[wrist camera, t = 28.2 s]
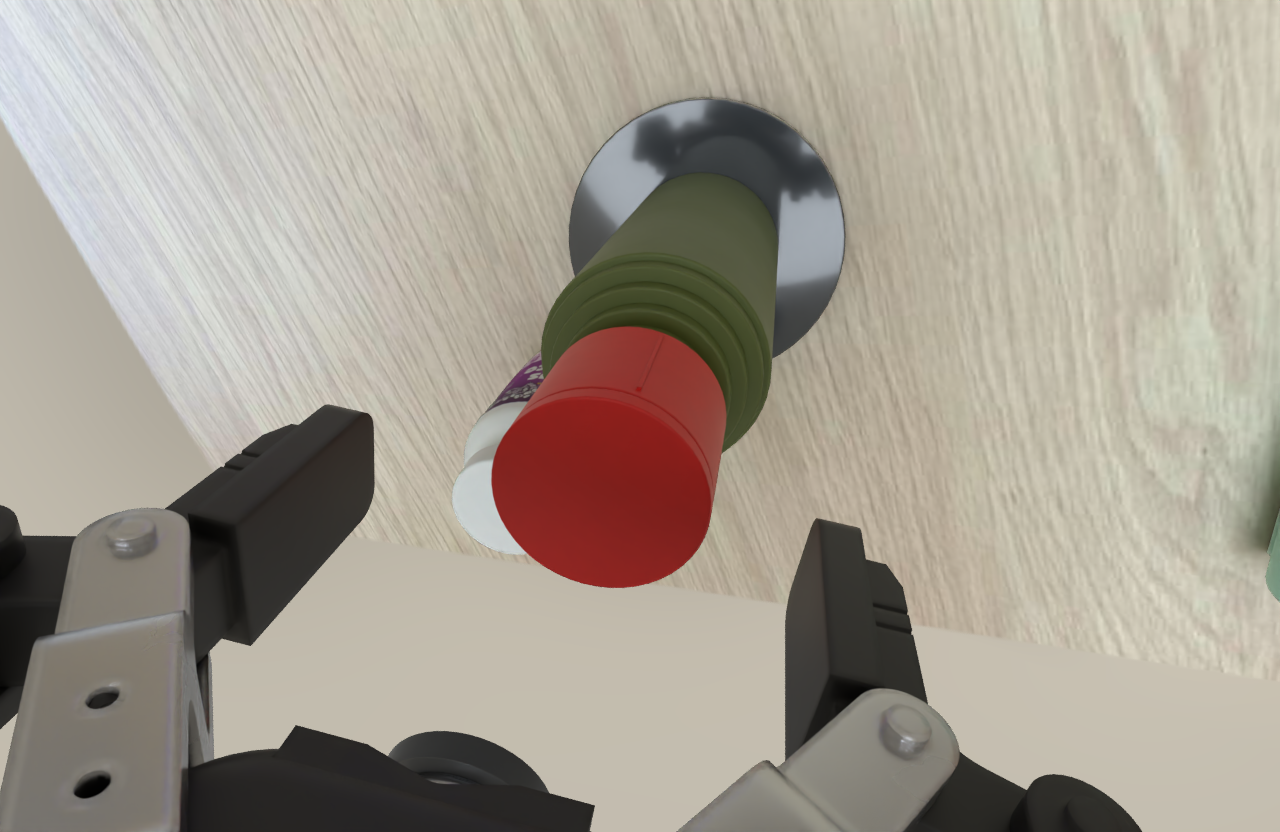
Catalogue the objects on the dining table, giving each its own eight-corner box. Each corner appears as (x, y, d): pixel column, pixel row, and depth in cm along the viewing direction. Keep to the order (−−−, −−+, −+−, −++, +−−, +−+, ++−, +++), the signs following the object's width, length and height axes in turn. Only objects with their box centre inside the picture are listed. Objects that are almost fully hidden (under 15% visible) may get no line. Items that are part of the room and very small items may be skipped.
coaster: (829, 377, 32) (829, 383, 31) (578, 362, 33) (575, 367, 33) (860, 97, 27) (862, 98, 26) (564, 97, 28) (560, 98, 28)
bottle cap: (573, 295, 16) (517, 359, 13) (756, 363, 16) (747, 445, 13) (527, 453, 18) (471, 543, 15) (690, 514, 18) (668, 617, 15)
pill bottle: (632, 341, 32) (576, 448, 24) (635, 447, 35) (586, 578, 26) (514, 336, 33) (420, 437, 25) (526, 440, 36) (444, 564, 27)
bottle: (794, 301, 30) (798, 582, 14) (654, 336, 32) (524, 620, 16) (756, 151, 28) (714, 295, 12) (608, 198, 29) (406, 376, 14)
